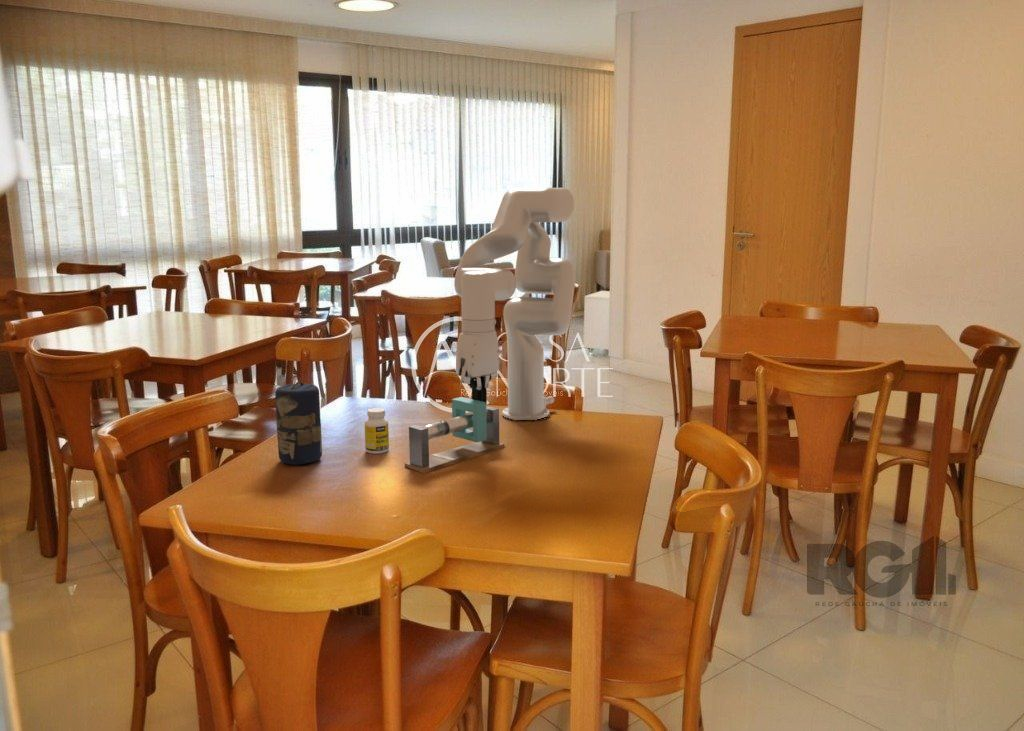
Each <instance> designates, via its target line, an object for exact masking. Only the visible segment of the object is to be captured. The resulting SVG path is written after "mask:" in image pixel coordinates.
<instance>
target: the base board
mask: <svg viewBox="0 0 1024 731" xmlns="http://www.w3.org/2000/svg"><path fill="white" fill-rule="evenodd" d="M503 448H506V447H505V443H502V442H500V441H499V444H496V445H491V444H487V443H483V442H473V441H472V442H469V443H466V444H464V445H461V446H457V447H453V448H450V449H447V450H443V451H441V452H438V453H436V452H435V453H433V454H431V455H430V454H429V466H427V467H424V468H421V467H418V466H415V465H412V464H410V461H408V462H407V461H406V462H404V467H405V468H407V469H409V470H414V471H417V472H419V473H422V474H427V473H429V472H432V471H435V470H438V469H441V468H445V467H447V466H451V465H454V464H457V463H461V462H463V461H466V460H469V459H474V458H475V457H479V456H482V455H485V454H487V453H490V452H495V451H497V450H499V449H503Z"/></svg>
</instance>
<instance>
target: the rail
mask: <svg viewBox="0 0 1024 731" xmlns="http://www.w3.org/2000/svg"><path fill="white" fill-rule="evenodd" d="M471 428H472V429H473V413H472V412H469V413H466V415H462V416H458V417H455V418H452V417H451V418H447V419H443V420H440V421H437V422H433V423H430V424H426V425H425V424H424V425H419V424H414V425H410V426H408V442H409V443H408V444H409V448H408V449H409V462H410V464H412V465H415V466H418V467H421V468H424V467H427V466H429V456H430V452H429V451H430V447H429V446H430V445H429V440H433V439H436V438H440V437H443V436H447V435H451V434H453V433H454V432H458V431H461V430H465V429H471ZM486 430H487V440H484V441H481V442H483V443H487V444H491V445H496V444H499V442H500V409H499V408H498V407H493V406H489V405H486Z"/></svg>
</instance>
